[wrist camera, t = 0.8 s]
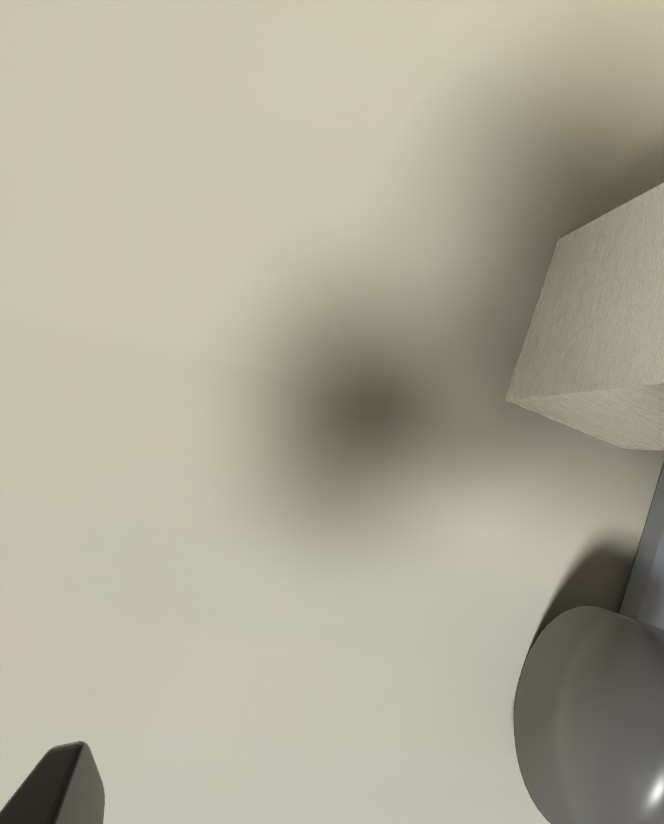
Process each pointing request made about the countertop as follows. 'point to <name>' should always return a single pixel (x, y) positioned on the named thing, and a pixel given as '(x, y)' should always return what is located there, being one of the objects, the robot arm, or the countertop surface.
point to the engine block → (602, 330)
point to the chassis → (600, 702)
